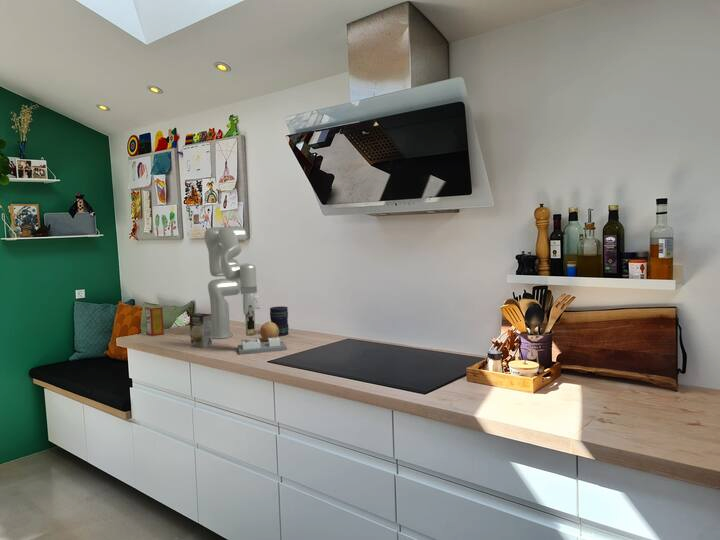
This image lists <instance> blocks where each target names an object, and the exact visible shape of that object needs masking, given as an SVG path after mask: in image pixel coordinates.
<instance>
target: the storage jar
mask: <svg viewBox="0 0 720 540" xmlns="http://www.w3.org/2000/svg"><path fill="white" fill-rule="evenodd" d="M269 317H270V322H273V323H275V324H276V325H277V326H278V329H279V335H278V337H286V336H288V335H289V327H290V326H289V323H288V321H289V320H288V318H289V308H288V306H281V305H280V306H272V307H269Z"/></svg>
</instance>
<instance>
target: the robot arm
mask: <svg viewBox="0 0 720 540" xmlns="http://www.w3.org/2000/svg"><path fill="white" fill-rule="evenodd" d="M203 238H204V242H205V246H206V248H207V252H208V262H209V265H208V266H209V272H210V275H211V276H212V277H224V278H218V279H216V278H215V279H212V280H210V281H209V282H208V284H207V290H208V295H209V302H210V314H211V326H212V340H213V339H217V340H220V339H227V338H232V337H233V336H234V333H233V332H231V324H230V306H229V303H228V300H227V299H226V298H224V297H229V296H237V295H239V294H240V295H242V304H243V305H242V310H243V311H242V312H243V315H244V316H245V315H246V314H247V318H248V321H247V329H248V330H250V329H254V317H253V314H255V315H256V301H255V300H256V297H255V294H257V293H258V290H257V289H258V286H257V268H256V265H255V264H251V263H247V262H246V263H240V262H239V261H238V259H235V258H236V257H237V256H239V255H240V254H241V252H242V246H241V244H243V243H245V242H246V241H247V238H248V235H247V231H246V229H245V227H242V226H213V227H209V228H206V230H204V237H203Z"/></svg>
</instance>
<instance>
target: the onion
mask: <svg viewBox="0 0 720 540" xmlns="http://www.w3.org/2000/svg"><path fill="white" fill-rule="evenodd" d="M259 331H260V333H259V335H260V336H261V338H262V339H263V340H265V341H268V338H277V337H279V336H278V335H279V329H278V326H277V325H276V324H275V323H273V322H271V321H266V322H265V323H263V324H262V325H261V327H260V330H259Z"/></svg>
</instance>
